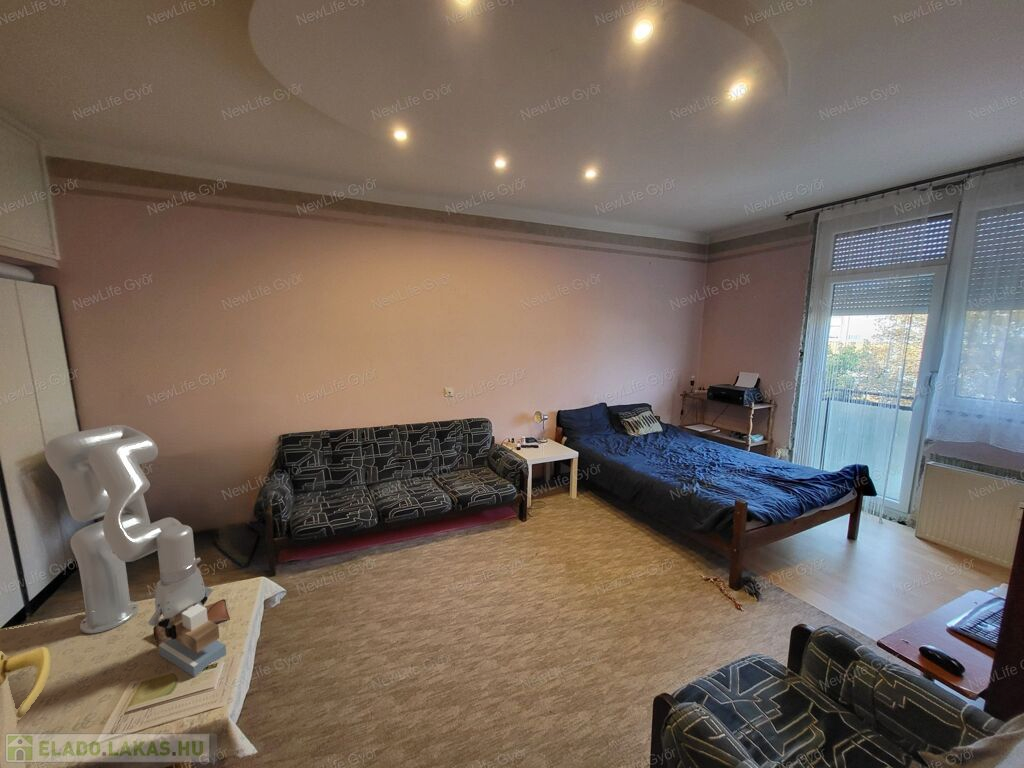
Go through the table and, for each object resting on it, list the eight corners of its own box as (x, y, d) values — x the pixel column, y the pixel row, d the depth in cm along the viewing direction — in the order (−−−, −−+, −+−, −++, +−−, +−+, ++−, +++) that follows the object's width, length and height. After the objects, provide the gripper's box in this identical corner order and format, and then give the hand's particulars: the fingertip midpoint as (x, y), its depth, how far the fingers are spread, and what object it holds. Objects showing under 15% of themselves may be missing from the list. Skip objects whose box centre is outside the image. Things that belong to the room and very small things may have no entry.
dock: (160, 654, 111) (158, 644, 110) (192, 634, 118) (191, 625, 118) (194, 677, 105) (193, 666, 104) (226, 654, 112) (225, 644, 112)
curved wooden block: (162, 632, 111) (161, 619, 111) (184, 618, 116) (183, 606, 116) (197, 652, 105) (196, 639, 104) (219, 638, 110) (218, 625, 109)
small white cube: (182, 625, 109) (181, 612, 108) (199, 616, 112) (197, 603, 112) (191, 631, 107) (190, 617, 106) (207, 621, 111) (206, 608, 110)
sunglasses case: (156, 651, 112) (153, 626, 113) (155, 649, 117) (152, 626, 118) (232, 618, 125) (228, 596, 126) (228, 618, 130) (225, 597, 131)
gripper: (204, 551, 118) (209, 605, 121) (131, 585, 102) (139, 647, 105) (220, 558, 115) (225, 613, 118) (147, 594, 99) (155, 657, 102)
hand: (184, 628), depth 112 cm, fingers closed on curved wooden block, 5 cm apart
